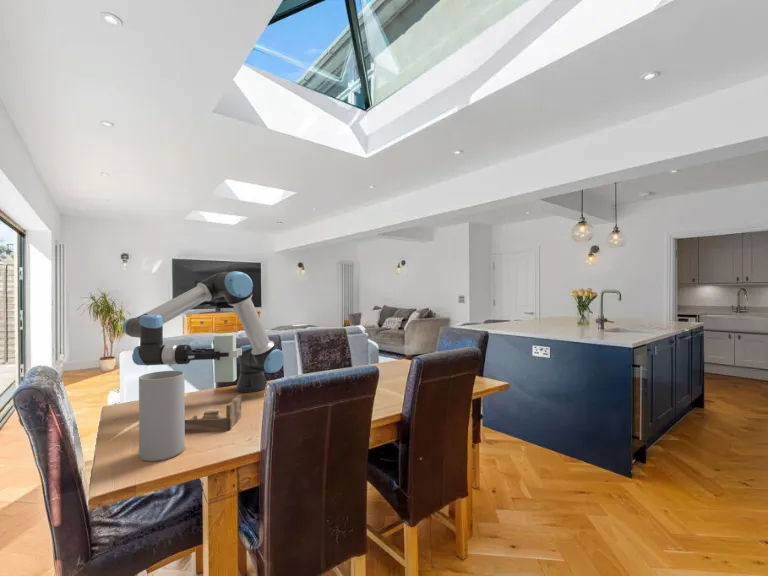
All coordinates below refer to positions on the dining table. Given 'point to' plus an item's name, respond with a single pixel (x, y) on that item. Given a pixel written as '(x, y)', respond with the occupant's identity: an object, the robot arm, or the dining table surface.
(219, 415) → the ply offcut
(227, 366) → the pale green block
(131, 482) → the dining table surface
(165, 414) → the cylinder vase
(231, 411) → the tray
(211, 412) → the pine offcut
